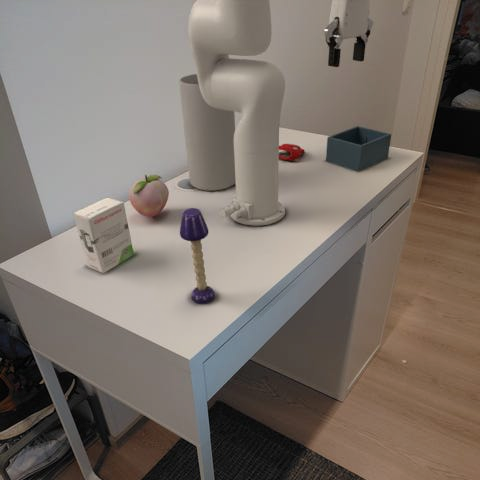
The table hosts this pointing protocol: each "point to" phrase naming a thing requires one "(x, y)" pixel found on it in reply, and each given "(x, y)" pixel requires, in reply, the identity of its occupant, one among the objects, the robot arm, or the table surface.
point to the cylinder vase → (207, 139)
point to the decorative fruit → (149, 195)
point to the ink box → (104, 234)
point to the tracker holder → (291, 151)
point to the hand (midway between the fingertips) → (346, 63)
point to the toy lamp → (197, 251)
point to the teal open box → (358, 148)
